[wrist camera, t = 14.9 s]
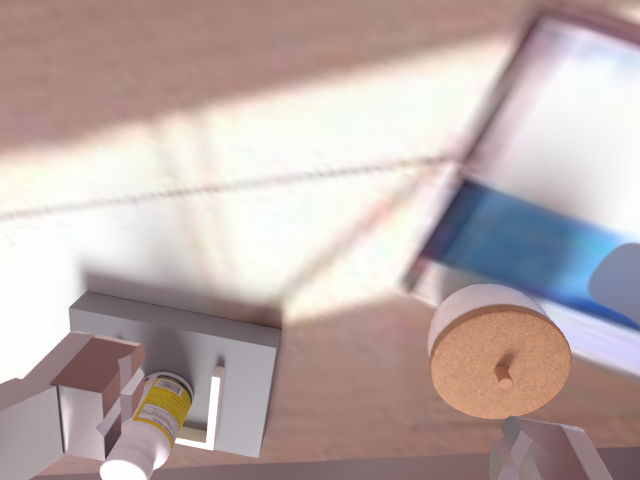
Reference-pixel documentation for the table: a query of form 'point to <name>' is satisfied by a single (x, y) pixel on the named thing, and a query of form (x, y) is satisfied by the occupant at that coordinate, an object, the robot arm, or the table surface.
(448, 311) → the lidded jar
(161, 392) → the supplement bottle
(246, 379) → the dock
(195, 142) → the table surface
